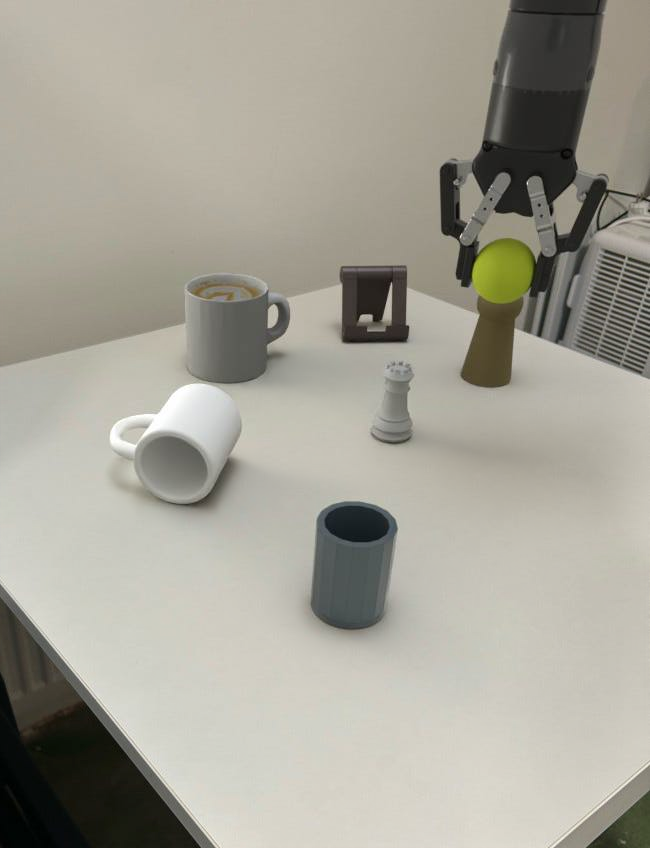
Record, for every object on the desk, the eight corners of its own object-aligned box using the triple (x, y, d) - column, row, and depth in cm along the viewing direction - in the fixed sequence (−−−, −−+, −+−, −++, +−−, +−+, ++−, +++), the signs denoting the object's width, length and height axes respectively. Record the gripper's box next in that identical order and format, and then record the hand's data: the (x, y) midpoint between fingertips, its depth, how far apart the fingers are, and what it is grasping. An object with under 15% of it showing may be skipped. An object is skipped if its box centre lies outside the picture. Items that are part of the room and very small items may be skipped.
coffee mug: (195, 386, 98) (193, 304, 92) (180, 353, 106) (177, 276, 100) (302, 375, 101) (307, 295, 95) (280, 344, 109) (283, 268, 103)
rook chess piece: (363, 427, 91) (370, 359, 86) (400, 421, 92) (409, 354, 87) (381, 446, 87) (389, 377, 82) (419, 440, 88) (429, 371, 84)
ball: (533, 296, 77) (547, 235, 74) (524, 316, 73) (538, 252, 70) (473, 287, 79) (484, 227, 75) (460, 306, 75) (471, 243, 71)
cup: (393, 591, 68) (405, 511, 63) (374, 637, 63) (385, 554, 59) (324, 573, 70) (331, 494, 65) (300, 617, 65) (306, 535, 60)
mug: (242, 458, 85) (242, 387, 80) (215, 510, 77) (214, 435, 72) (132, 443, 87) (126, 373, 83) (96, 492, 79) (87, 419, 75)
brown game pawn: (510, 368, 103) (528, 281, 97) (511, 389, 99) (531, 299, 92) (461, 363, 104) (476, 277, 98) (459, 384, 100) (475, 294, 93)
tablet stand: (342, 343, 109) (347, 280, 104) (333, 321, 116) (337, 261, 111) (407, 342, 110) (416, 280, 105) (395, 320, 116) (402, 260, 111)
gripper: (641, 80, 66) (585, 289, 76) (461, 67, 70) (431, 266, 80) (636, 92, 60) (577, 316, 70) (441, 78, 65) (411, 290, 75)
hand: (499, 289), depth 75 cm, fingers closed on ball, 5 cm apart
